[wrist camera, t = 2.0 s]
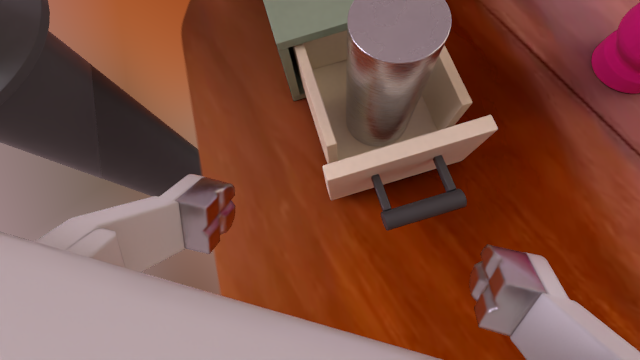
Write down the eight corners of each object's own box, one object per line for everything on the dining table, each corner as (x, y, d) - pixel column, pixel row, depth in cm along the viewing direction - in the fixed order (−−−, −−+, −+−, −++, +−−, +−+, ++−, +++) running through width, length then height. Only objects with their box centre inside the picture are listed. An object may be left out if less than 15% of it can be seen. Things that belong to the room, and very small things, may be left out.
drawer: (482, 204, 27) (527, 185, 20) (345, 246, 27) (345, 240, 20) (408, 40, 32) (425, -18, 25) (292, 76, 32) (278, 26, 25)
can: (356, 154, 28) (366, 76, 16) (338, 101, 29) (334, -6, 18) (416, 136, 28) (469, 45, 16) (395, 83, 29) (428, -34, 18)
